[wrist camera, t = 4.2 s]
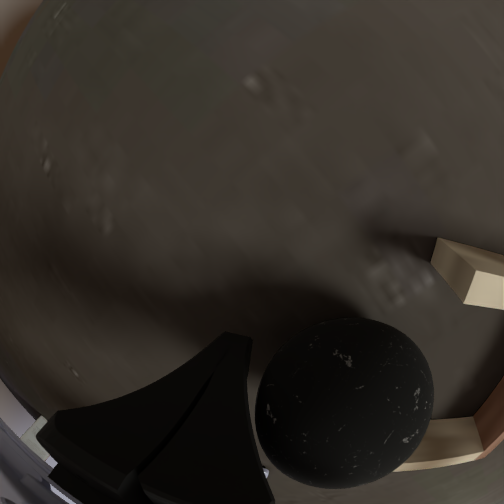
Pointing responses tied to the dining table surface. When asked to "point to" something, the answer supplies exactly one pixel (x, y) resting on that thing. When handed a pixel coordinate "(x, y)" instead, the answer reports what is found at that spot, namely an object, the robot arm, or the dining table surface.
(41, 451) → the small box
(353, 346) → the billiard ball
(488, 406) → the wooden u-shaped frame
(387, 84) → the dining table surface
